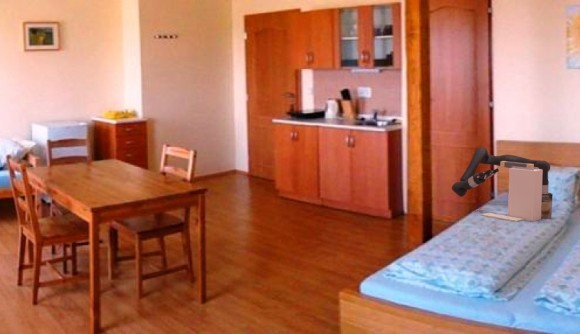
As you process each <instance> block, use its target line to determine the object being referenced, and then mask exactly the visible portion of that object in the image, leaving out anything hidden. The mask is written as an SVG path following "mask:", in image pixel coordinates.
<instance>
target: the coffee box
mask: <svg viewBox="0 0 580 334" xmlns="http://www.w3.org/2000/svg"><path fill="white" fill-rule="evenodd" d="M553 197H554V195H553V193H551V192H548V193H545V192H542V201H541V219H552V218H553V217H552V214H553Z"/></svg>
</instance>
